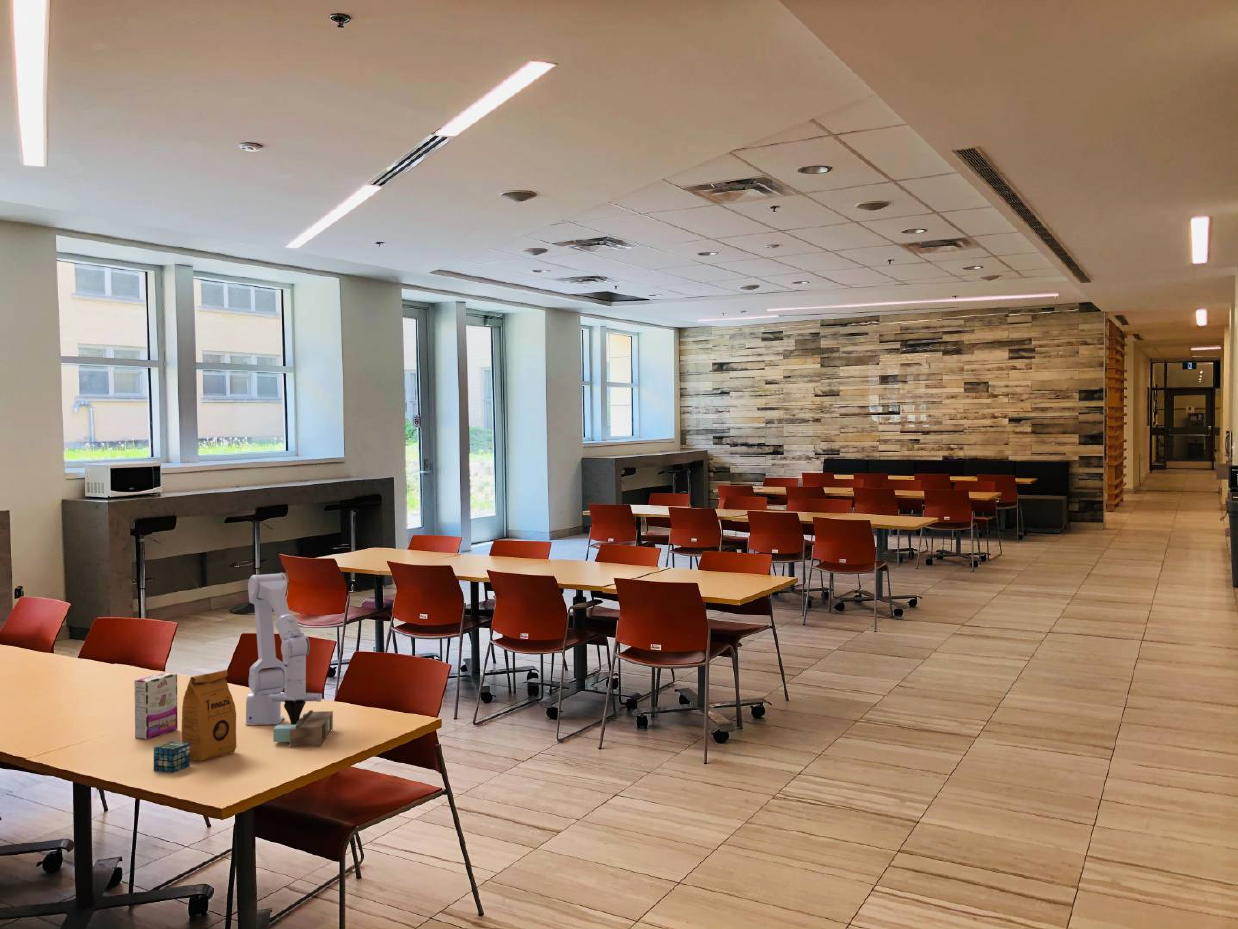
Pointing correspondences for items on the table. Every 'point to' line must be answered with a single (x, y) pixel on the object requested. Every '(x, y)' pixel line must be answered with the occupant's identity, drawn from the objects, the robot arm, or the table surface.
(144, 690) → the candy bar box
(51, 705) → the table surface
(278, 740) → the peg near
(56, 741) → the table surface
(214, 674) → the coffee package
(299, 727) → the sleeve block
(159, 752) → the puzzle
